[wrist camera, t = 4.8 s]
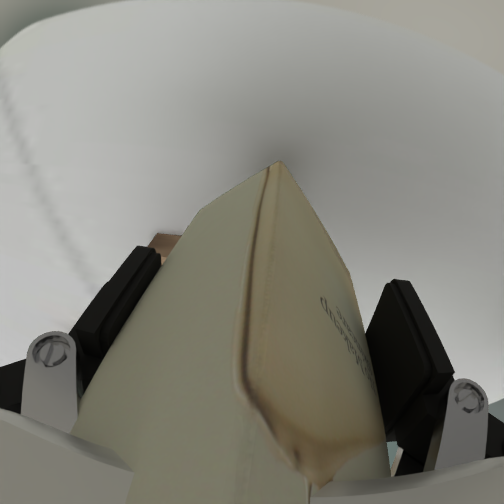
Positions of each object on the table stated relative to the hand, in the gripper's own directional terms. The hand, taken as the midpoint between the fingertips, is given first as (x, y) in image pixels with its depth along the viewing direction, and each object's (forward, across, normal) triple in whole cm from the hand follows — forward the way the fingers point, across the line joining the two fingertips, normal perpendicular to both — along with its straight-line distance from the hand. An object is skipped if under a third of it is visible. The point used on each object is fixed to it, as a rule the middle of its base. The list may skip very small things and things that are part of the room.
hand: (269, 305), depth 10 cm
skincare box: (+5, 0, 0) cm, 5 cm away
